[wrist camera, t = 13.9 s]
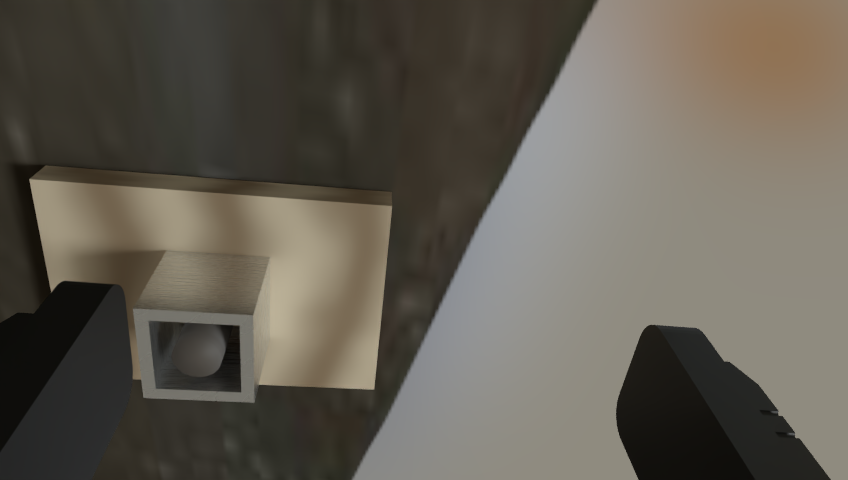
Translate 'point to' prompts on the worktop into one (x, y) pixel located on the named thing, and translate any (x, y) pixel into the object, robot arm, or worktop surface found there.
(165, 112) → the worktop surface
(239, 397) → the steel collar
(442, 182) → the worktop surface
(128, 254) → the hub base
